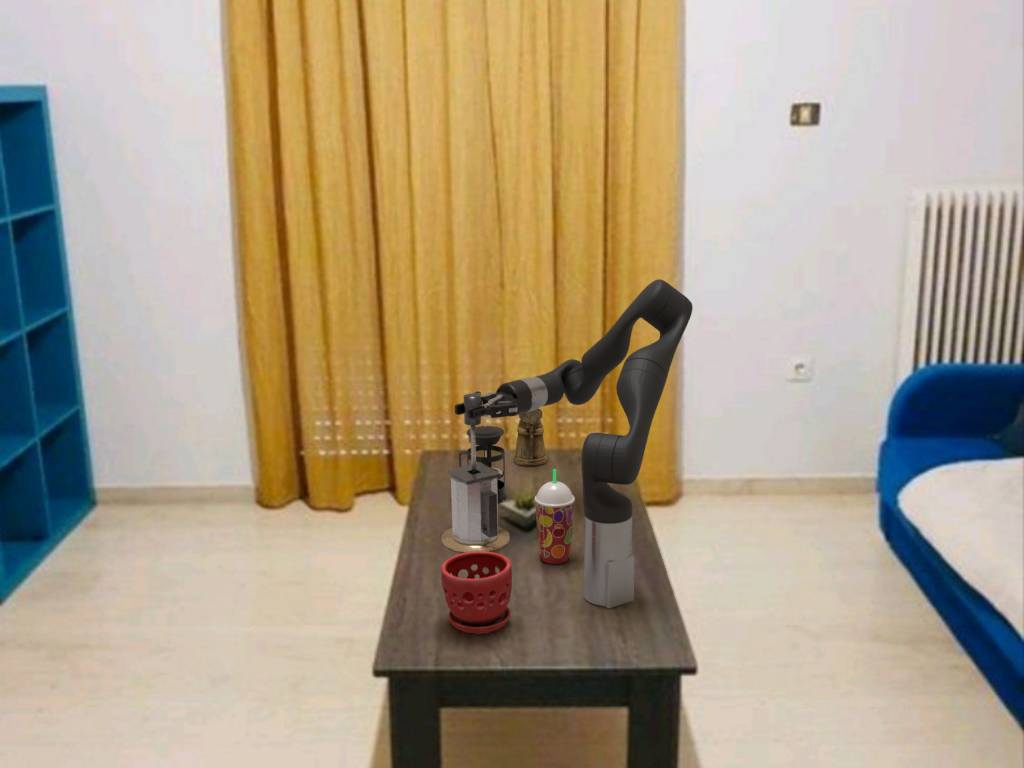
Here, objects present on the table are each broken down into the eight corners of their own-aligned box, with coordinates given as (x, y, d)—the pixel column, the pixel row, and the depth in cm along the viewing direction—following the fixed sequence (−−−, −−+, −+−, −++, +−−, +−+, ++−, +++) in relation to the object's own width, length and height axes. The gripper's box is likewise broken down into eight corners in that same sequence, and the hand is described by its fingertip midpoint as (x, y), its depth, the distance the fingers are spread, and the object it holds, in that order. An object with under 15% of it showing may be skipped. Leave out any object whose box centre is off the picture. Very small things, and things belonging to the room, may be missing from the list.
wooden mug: (513, 473, 283) (512, 406, 278) (513, 455, 296) (512, 391, 291) (548, 472, 283) (547, 405, 278) (546, 455, 296) (546, 390, 291)
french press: (510, 490, 271) (508, 401, 265) (507, 505, 262) (506, 413, 256) (462, 490, 272) (460, 401, 265) (458, 504, 263) (455, 412, 256)
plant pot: (507, 603, 214) (506, 546, 211) (517, 636, 201) (516, 576, 198) (440, 608, 212) (438, 551, 209) (445, 642, 200) (444, 582, 196)
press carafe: (523, 543, 241) (522, 475, 236) (463, 559, 233) (461, 490, 229) (487, 520, 253) (486, 455, 249) (429, 535, 246) (427, 468, 242)
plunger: (498, 496, 239) (496, 397, 233) (467, 504, 236) (465, 403, 229) (480, 486, 246) (478, 389, 239) (450, 493, 242) (447, 394, 236)
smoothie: (547, 547, 239) (546, 460, 233) (581, 555, 235) (581, 467, 229) (527, 561, 232) (526, 472, 226) (562, 570, 228) (562, 479, 222)
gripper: (501, 373, 248) (440, 388, 237) (544, 386, 238) (483, 402, 227) (501, 405, 250) (441, 421, 239) (544, 419, 240) (483, 436, 229)
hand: (462, 412), depth 233 cm, fingers closed on plunger, 3 cm apart
